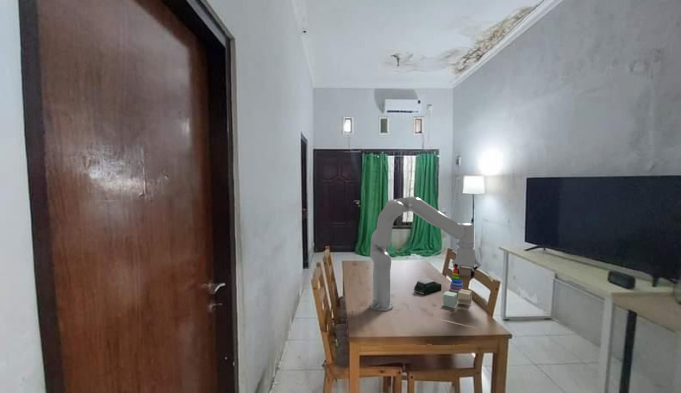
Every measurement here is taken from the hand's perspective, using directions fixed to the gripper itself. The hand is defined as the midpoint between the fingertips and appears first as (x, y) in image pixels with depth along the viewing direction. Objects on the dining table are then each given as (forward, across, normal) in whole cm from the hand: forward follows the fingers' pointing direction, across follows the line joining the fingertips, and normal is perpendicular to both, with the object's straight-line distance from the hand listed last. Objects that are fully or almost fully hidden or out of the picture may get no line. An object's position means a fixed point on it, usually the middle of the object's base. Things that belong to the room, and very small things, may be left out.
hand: (466, 276), depth 173 cm
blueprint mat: (+15, -2, -4) cm, 16 cm away
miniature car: (+16, -24, +5) cm, 29 cm away
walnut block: (+1, 0, 0) cm, 1 cm away
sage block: (+15, -6, -8) cm, 18 cm away
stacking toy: (+16, -10, +17) cm, 25 cm away
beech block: (+15, 0, 0) cm, 15 cm away
